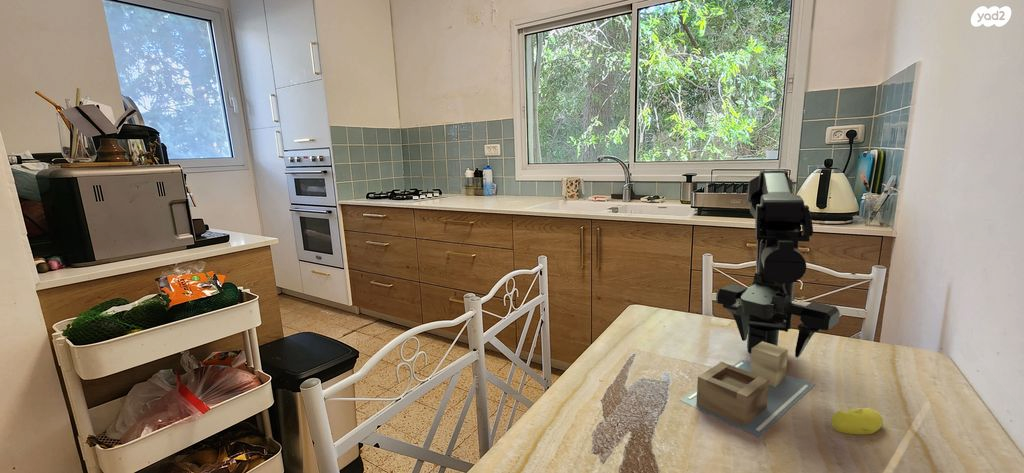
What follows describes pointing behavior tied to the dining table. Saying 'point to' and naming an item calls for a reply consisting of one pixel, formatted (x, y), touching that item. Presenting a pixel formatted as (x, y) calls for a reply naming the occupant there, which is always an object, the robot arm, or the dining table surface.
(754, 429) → the board
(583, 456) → the dining table surface
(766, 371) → the oak block
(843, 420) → the yellow oval piece
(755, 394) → the base block
